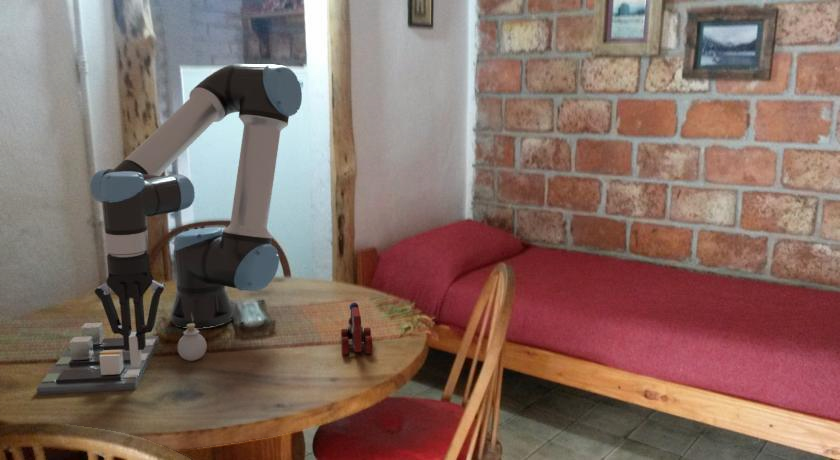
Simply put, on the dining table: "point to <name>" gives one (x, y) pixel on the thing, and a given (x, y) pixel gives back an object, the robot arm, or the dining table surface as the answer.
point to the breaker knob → (111, 362)
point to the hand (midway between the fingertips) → (136, 364)
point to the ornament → (191, 344)
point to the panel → (94, 365)
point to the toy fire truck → (356, 334)
